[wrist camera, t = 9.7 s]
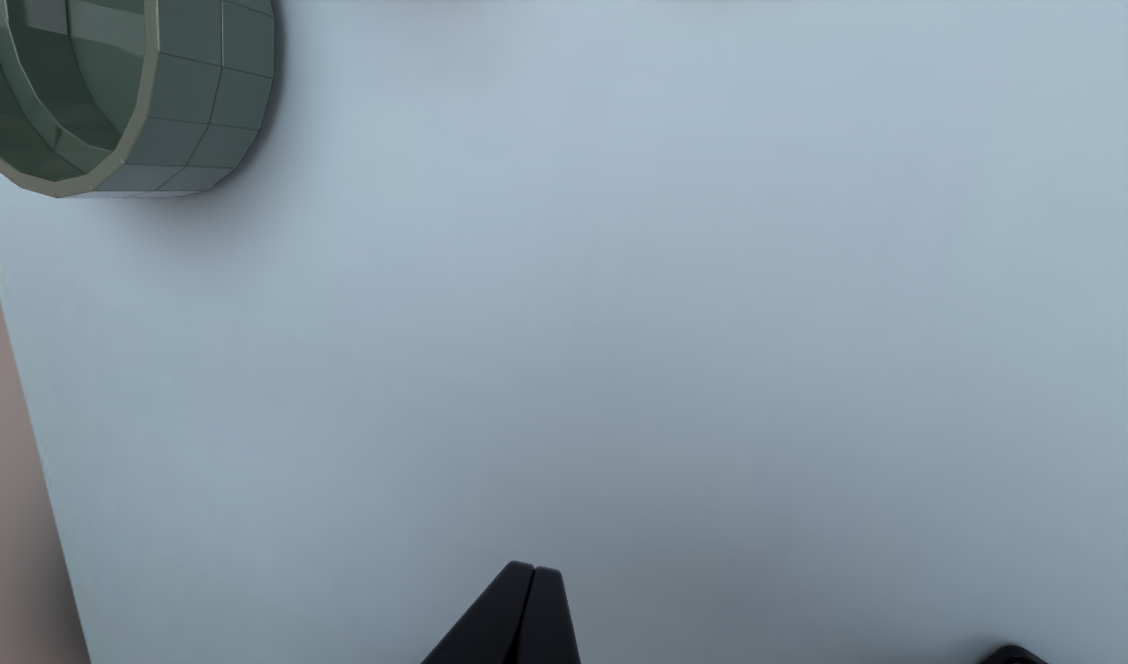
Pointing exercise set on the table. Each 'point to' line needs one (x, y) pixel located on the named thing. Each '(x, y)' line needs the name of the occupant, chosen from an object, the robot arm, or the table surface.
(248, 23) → the basin
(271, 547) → the table surface
